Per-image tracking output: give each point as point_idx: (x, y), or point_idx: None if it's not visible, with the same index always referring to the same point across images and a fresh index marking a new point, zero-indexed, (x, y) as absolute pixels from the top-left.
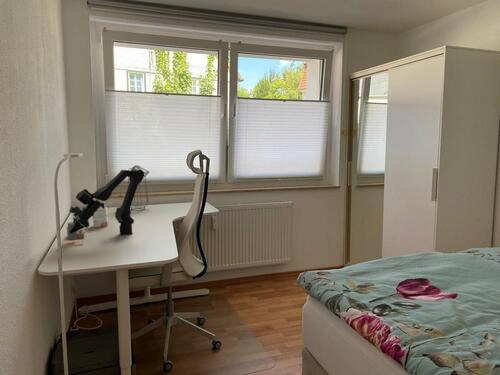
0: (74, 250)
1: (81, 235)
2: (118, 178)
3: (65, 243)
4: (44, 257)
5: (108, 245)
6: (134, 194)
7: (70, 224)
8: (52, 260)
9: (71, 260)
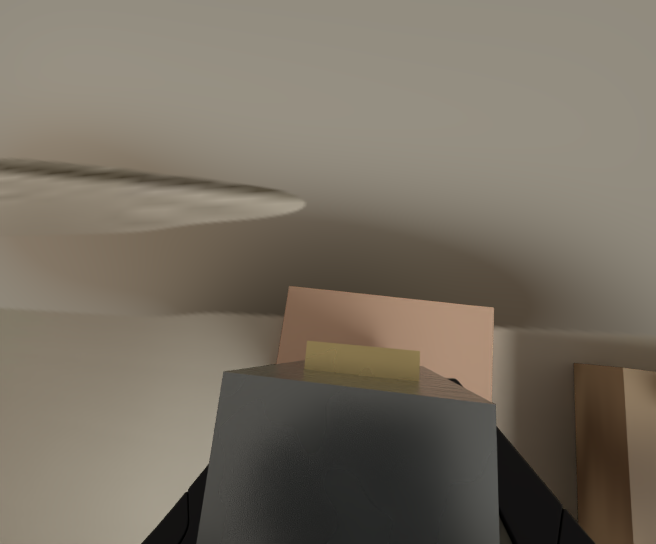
0: (130, 382)
1: None
2: None
3: (370, 322)
4: (99, 177)
5: None
6: None
7: (216, 459)
8: (9, 225)
9: None
